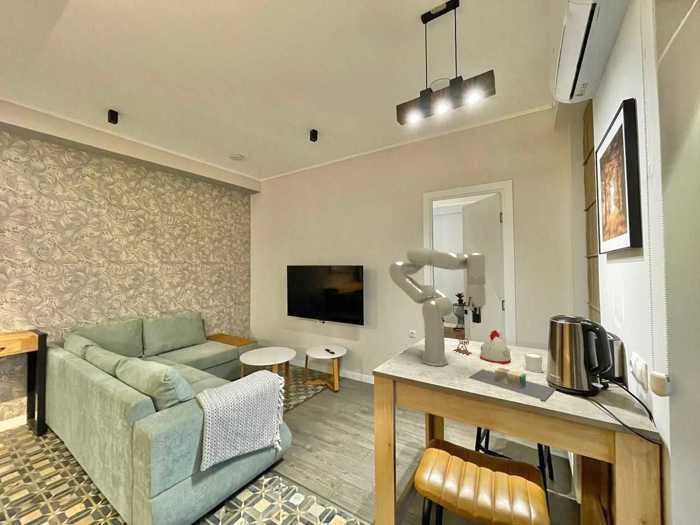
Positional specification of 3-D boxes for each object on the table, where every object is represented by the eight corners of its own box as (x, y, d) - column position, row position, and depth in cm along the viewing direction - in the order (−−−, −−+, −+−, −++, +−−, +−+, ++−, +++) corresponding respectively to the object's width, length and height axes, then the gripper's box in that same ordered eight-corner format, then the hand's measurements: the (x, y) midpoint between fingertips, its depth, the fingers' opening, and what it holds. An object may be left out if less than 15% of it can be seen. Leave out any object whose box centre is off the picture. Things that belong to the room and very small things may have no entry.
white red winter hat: (474, 359, 147) (474, 330, 147) (488, 353, 155) (488, 326, 155) (502, 366, 136) (502, 335, 136) (515, 360, 144) (515, 330, 144)
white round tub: (530, 367, 135) (530, 352, 135) (546, 372, 128) (545, 356, 129) (521, 369, 132) (521, 354, 132) (536, 374, 126) (536, 358, 126)
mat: (467, 378, 122) (467, 377, 122) (482, 370, 132) (482, 369, 132) (544, 401, 101) (544, 400, 101) (555, 389, 111) (555, 388, 111)
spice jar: (494, 370, 119) (521, 376, 111) (499, 367, 122) (525, 373, 114) (495, 380, 119) (521, 388, 111) (499, 377, 122) (525, 385, 114)
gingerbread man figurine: (471, 354, 155) (471, 331, 155) (467, 355, 153) (467, 333, 153) (457, 350, 163) (457, 329, 163) (453, 351, 160) (452, 330, 160)
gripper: (475, 279, 134) (476, 319, 134) (459, 281, 124) (460, 323, 124) (491, 280, 129) (492, 321, 128) (476, 282, 119) (477, 326, 119)
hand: (476, 322), depth 126 cm, fingers closed
